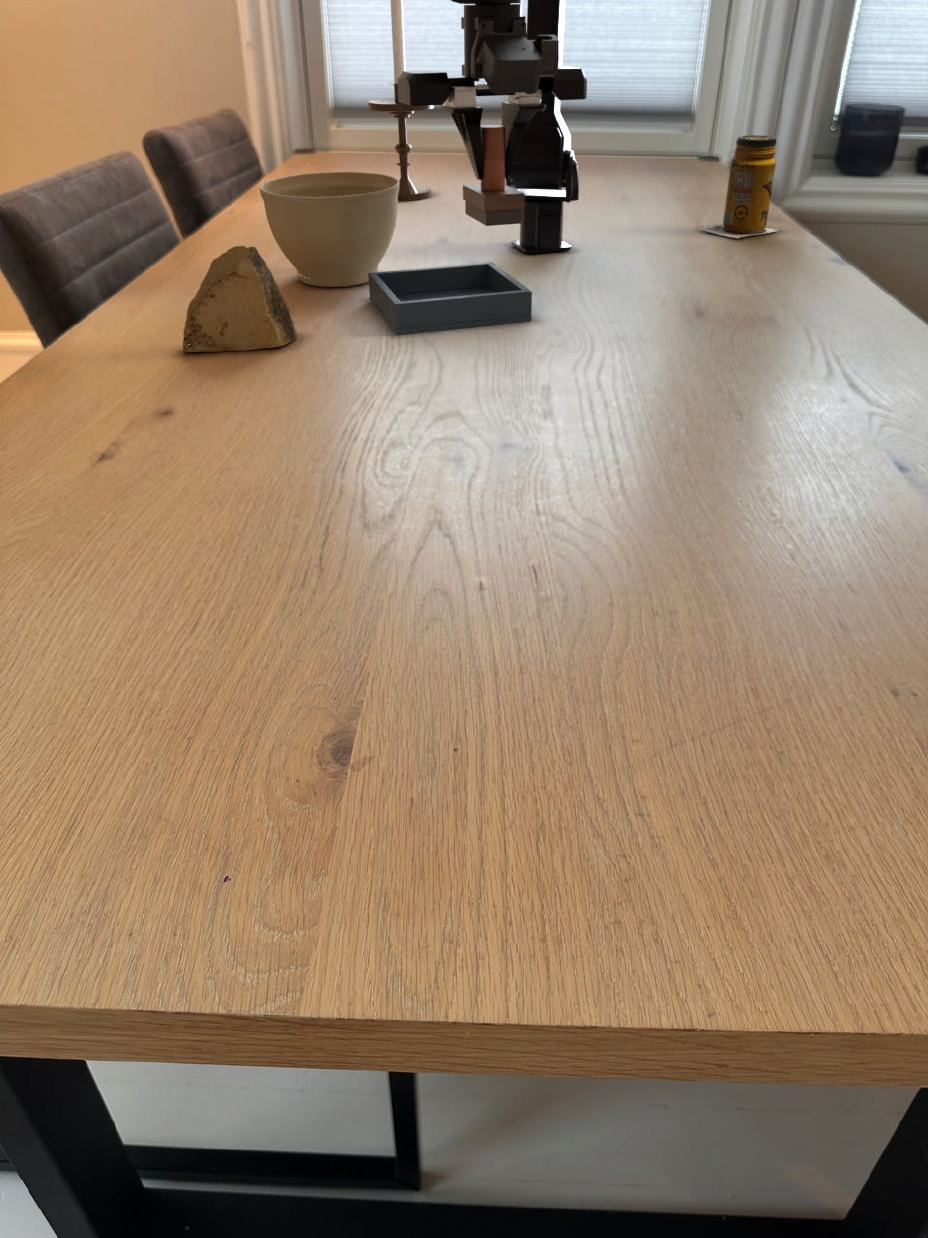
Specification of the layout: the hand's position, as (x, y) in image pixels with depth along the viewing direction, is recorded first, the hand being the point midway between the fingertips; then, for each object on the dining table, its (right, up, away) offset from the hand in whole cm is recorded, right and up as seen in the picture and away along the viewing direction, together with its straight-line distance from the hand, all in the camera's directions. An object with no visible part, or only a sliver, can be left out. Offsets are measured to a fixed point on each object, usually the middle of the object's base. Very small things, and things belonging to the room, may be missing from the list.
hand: (492, 178), depth 101 cm
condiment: (+36, +8, +34) cm, 50 cm away
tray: (-5, -13, +2) cm, 14 cm away
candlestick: (-13, +26, +62) cm, 69 cm away
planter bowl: (-19, -6, +15) cm, 24 cm away
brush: (0, -3, +2) cm, 4 cm away
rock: (-26, -20, -7) cm, 33 cm away
